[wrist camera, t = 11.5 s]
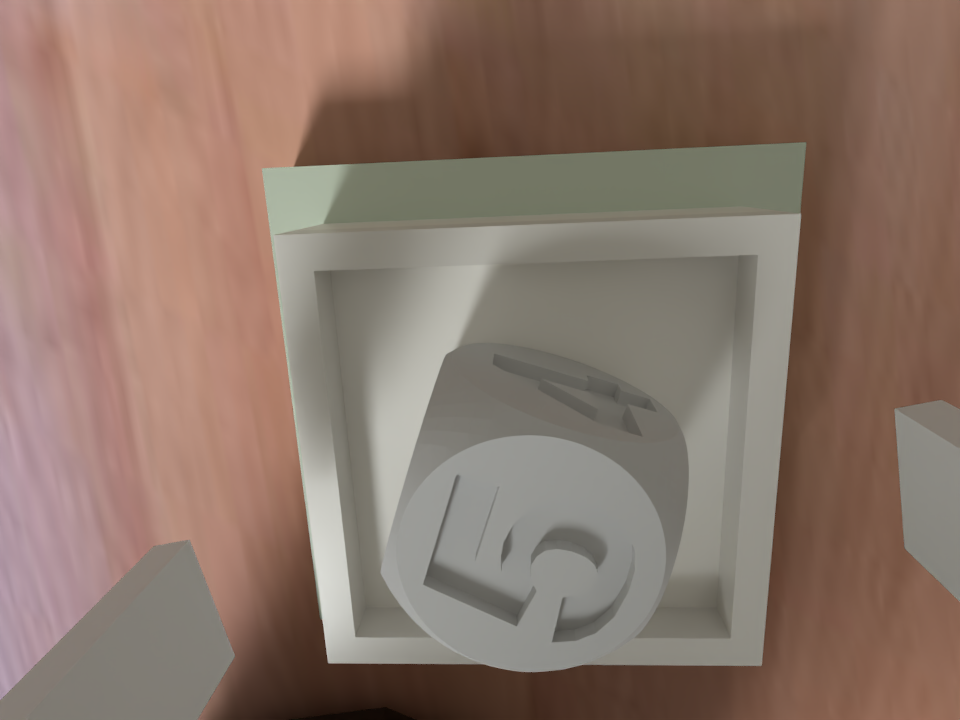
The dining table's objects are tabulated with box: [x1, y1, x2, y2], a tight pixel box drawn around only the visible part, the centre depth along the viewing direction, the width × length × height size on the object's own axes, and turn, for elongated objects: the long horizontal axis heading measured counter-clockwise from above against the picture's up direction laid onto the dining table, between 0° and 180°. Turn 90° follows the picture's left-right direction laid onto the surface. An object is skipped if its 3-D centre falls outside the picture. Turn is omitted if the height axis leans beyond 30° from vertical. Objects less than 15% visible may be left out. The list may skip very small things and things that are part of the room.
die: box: [381, 343, 689, 672], centre depth 14 cm, size 5×5×5 cm
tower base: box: [262, 142, 806, 666], centre depth 18 cm, size 14×14×7 cm
